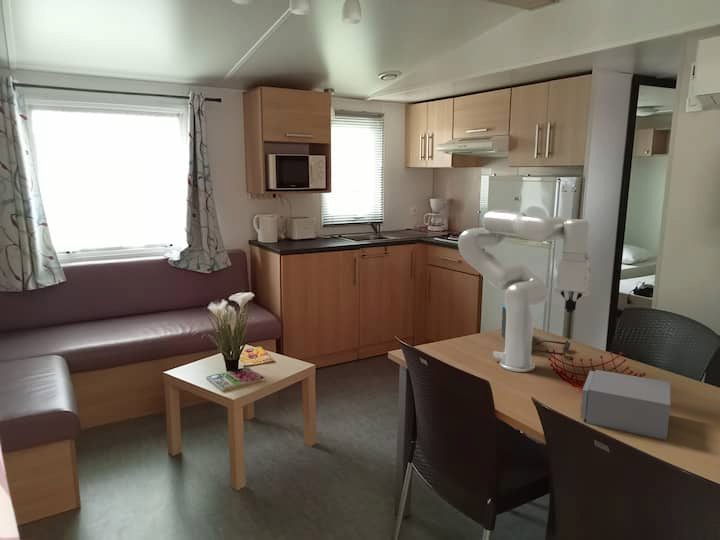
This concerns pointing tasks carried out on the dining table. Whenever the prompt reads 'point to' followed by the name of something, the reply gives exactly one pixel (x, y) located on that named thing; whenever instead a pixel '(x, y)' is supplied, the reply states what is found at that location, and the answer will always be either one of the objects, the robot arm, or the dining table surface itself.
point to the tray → (586, 394)
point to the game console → (503, 321)
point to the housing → (629, 403)
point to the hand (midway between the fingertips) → (570, 311)
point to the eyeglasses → (565, 348)
